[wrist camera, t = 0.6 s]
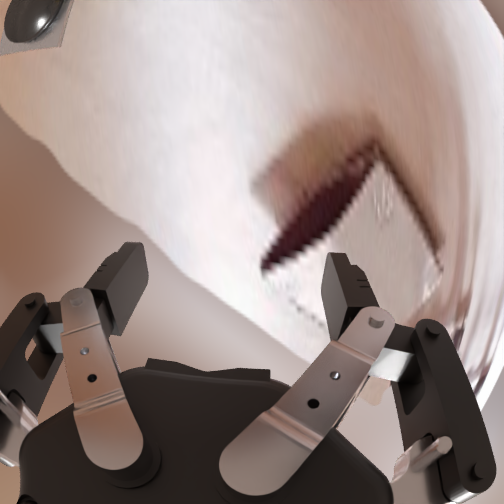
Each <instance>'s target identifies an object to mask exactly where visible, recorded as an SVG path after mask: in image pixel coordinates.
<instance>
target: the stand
mask: <svg viewBox="0 0 504 504" xmlns="http://www.w3.org/2000/svg"><path fill="white" fill-rule="evenodd" d="M73 1H74V0H12V1H11V3H10V5H9V8H8V10H7V13H6V17H5V22H4V31H3V35H2V39H1V43H0V56H3V55H8V54H13V53H19V52H25V51H32V50H39V49H48V48H58V47H61V43H62V39H63V35H64V31H65V27H66V24H67V20H68V17H69V14H70V11H71V7H72V4H73Z"/></svg>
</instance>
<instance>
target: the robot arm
mask: <svg viewBox="0 0 504 504" xmlns="http://www.w3.org/2000/svg"><path fill="white" fill-rule="evenodd" d="M147 283H148V268H147V263H146V257H145V251H144V246H143V244H142V243H140V242H125V243H124V244H123V245H122V247H121V248H120V249H119V251H118V252H114V253H113V254H111V255H110V256H109V257H107V258H106V259H105V260H104V261H103V263H102V264H101V266H99V268H98V269H97V271H96V272H95V273H94V274H93V275H92V277H91V278H90V279H89V281H88V282H87V283H86V285H85V286H84V287H83V288H76V289H73V290H70V291H69V292H67V293H66V294H65V295H64V296H63V297H62V298H61V301H60V302H51V303H47V302H46V300H45V297H44V295H43V294H41V293H31V294H29V295H26V296H25V297H23V298H22V299H21V300H20V301H19V303H18V304H17V305H16V307H15V308H14V309H13V311H12V312H11V313H10V315H9V316H8V317H7V319H6V320H5V322H4V323H3V324H2V326H1V327H0V462H1V463H3V464H4V465H6V466H10V467H11V466H15V465H16V466H18V467H20V479H21V480H20V495H19V499H18V502H17V504H461V503H463V502H465V501H467V500H469V499H471V498H473V497H475V496H477V495H479V494H481V493H482V492H484V491H486V490H487V489H488V488H489V487H490V486H491V485H492V483H493V481H494V479H495V477H496V463H495V460H494V455H493V452H492V448H491V444H490V441H489V437H488V434H487V431H486V427H485V424H484V422H483V418H482V415H481V412H480V409H479V406H478V403H477V401H476V398H475V395H474V392H473V390H472V387H471V385H470V382H469V380H468V377H467V375H466V372H465V370H464V367H463V365H462V363H461V360H460V358H459V356H458V353H457V351H456V349H455V347H454V345H453V342H452V340H451V338H450V336H449V334H448V332H447V330H446V328H445V327H444V326H443V325H442V324H440V323H439V322H437V321H435V320H432V319H422V320H420V321H419V322H418V323H417V324H416V326H415V328H411V327H407V326H402V325H399V324H396V323H395V320H394V318H393V316H392V315H391V314H390V313H389V312H388V311H386V310H384V309H382V308H380V307H379V305H378V302H377V300H376V297H375V295H374V293H373V291H372V288H370V287H371V286H370V284H369V282H368V279H367V277H366V275H365V273H364V271H362V270H361V269H360V268H359V267H358V266H357V265H351V264H350V262H349V259H348V257H347V255H346V253H333V252H329V253H328V254H327V258H326V263H325V269H324V274H323V279H322V285H321V296H322V301H323V305H324V310H325V315H326V319H327V324H328V329H329V334H330V339H331V342H330V343H329V344H328V345H327V346H326V348H325V349H324V350H323V351H322V352H321V354H320V355H319V356H318V357H317V358H316V360H315V361H314V362H313V363H312V364H311V365H310V367H309V368H308V369H307V370H306V371H305V372H304V373H303V375H302V376H301V377H300V378H299V379H298V380H297V381H296V382H295V384H294V385H293V386H292V387H291V386H289V385H287V384H285V383H283V382H280V381H277V380H274V379H270V370H269V369H248V368H235V369H227V370H220V371H210V372H205V371H201V370H198V369H195V368H192V367H189V366H187V365H184V364H181V363H178V362H173V361H166V360H159V359H152V358H148V360H147V363H146V365H145V367H138V368H133V369H129V370H127V371H124V372H122V373H121V371H120V368H119V365H118V363H117V360H116V358H115V355H114V352H113V349H112V347H111V344H110V341H109V337H110V335H117V336H121V335H122V333H123V331H124V329H125V327H126V325H127V323H128V321H129V319H130V317H131V315H132V313H133V311H134V309H135V307H136V305H137V303H138V301H139V299H140V297H141V296H142V294H143V292H144V290H145V288H146V286H147ZM32 338H33V340H34V342H35V343H36V347H35V349H34V350H33V352H32V354H31V355H30V357H29V359H28V361H26V358H25V350H26V348H27V346H28V344H29V342H30V341H31V339H32ZM63 358H64V362H65V367H66V372H67V377H68V381H69V386H70V390H71V394H72V398H73V402H74V403H73V404H71V405H69V406H68V407H66V408H65V409H63V410H62V411H60V412H58V413H57V414H55V415H54V416H52V417H50V418H49V419H47V420H46V421H44V422H43V423H41V424H39V425H38V420H37V416H38V414H39V411H40V409H41V406H42V404H43V402H44V399H45V397H46V395H47V392H48V390H49V388H50V385H51V383H52V381H53V379H54V377H55V375H56V373H57V371H58V368H59V366H60V364H61V362H62V360H63ZM370 376H373V377H378V378H382V379H387V380H390V381H391V385H392V390H393V394H394V399H395V403H396V408H397V413H398V418H399V423H400V429H401V434H402V440H403V446H404V453H403V454H402V455H401V456H400V457H399V458H398V459H397V461H396V463H395V466H394V476H393V479H392V481H391V483H389V481H388V479H387V477H386V476H385V475H384V474H383V473H382V472H381V471H380V470H379V469H378V468H377V467H376V466H375V465H374V464H373V463H372V462H370V461H369V460H368V459H367V458H366V457H365V456H364V455H363V454H362V453H360V451H359V450H358V449H356V448H355V447H354V446H353V445H352V444H351V443H350V442H349V441H348V440H347V439H346V438H345V437H344V436H343V435H342V434H341V433H340V432H339V431H338V430H337V428H338V427H339V425H340V424H341V422H342V421H343V419H344V418H345V416H346V415H347V413H348V412H349V410H350V408H351V407H352V405H353V404H354V402H355V401H356V399H357V398H358V396H359V394H360V393H361V391H362V390H363V388H364V386H365V385H366V383H367V381H368V380H369V378H370Z"/></svg>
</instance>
